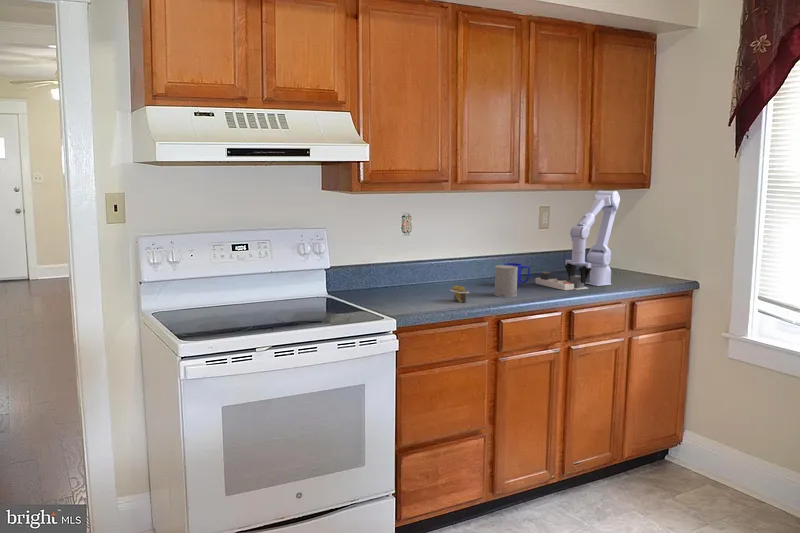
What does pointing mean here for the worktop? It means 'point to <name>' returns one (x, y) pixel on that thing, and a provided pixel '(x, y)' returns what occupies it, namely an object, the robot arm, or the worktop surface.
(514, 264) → the mug
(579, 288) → the mat
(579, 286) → the block
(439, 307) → the worktop surface
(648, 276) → the worktop surface
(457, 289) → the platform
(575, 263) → the robot arm
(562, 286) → the power strip
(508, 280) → the gray concrete cylinder
